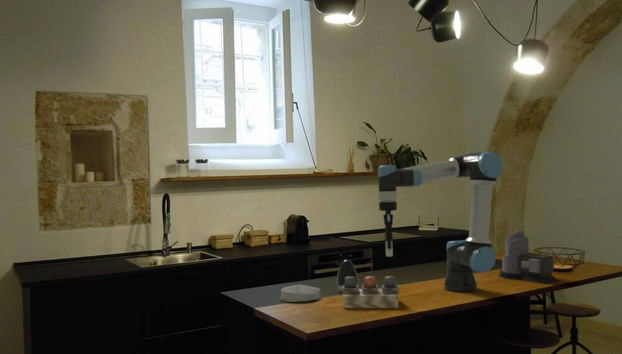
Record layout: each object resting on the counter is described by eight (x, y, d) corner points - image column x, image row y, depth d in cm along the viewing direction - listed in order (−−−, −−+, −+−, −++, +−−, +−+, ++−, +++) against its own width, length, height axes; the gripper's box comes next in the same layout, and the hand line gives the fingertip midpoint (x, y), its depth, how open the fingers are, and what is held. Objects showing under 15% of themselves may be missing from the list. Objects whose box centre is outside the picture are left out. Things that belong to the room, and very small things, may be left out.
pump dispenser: (335, 289, 266) (334, 258, 266) (356, 288, 267) (355, 257, 267) (338, 294, 256) (337, 261, 256) (360, 293, 257) (359, 260, 257)
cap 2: (395, 285, 236) (394, 276, 236) (395, 287, 232) (395, 278, 232) (384, 285, 236) (384, 276, 236) (385, 287, 232) (384, 278, 232)
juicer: (491, 276, 290) (490, 230, 290) (510, 272, 299) (509, 228, 299) (542, 285, 265) (540, 234, 265) (561, 280, 274) (560, 231, 273)
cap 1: (355, 285, 238) (355, 276, 238) (355, 287, 233) (355, 278, 233) (345, 285, 238) (345, 276, 238) (344, 287, 234) (344, 278, 234)
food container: (280, 294, 261) (280, 280, 261) (322, 293, 260) (321, 278, 260) (276, 305, 241) (276, 289, 241) (322, 303, 240) (321, 288, 240)
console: (397, 300, 241) (397, 283, 241) (399, 307, 227) (398, 289, 227) (343, 300, 243) (343, 283, 243) (342, 307, 229) (341, 290, 229)
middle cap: (375, 285, 237) (375, 276, 237) (375, 287, 233) (375, 278, 233) (365, 285, 237) (364, 276, 237) (364, 287, 233) (364, 278, 233)
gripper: (378, 200, 244) (380, 252, 244) (379, 202, 225) (380, 258, 225) (395, 200, 243) (397, 251, 243) (397, 202, 224) (399, 258, 224)
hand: (389, 255), depth 234 cm, fingers open, 6 cm apart
